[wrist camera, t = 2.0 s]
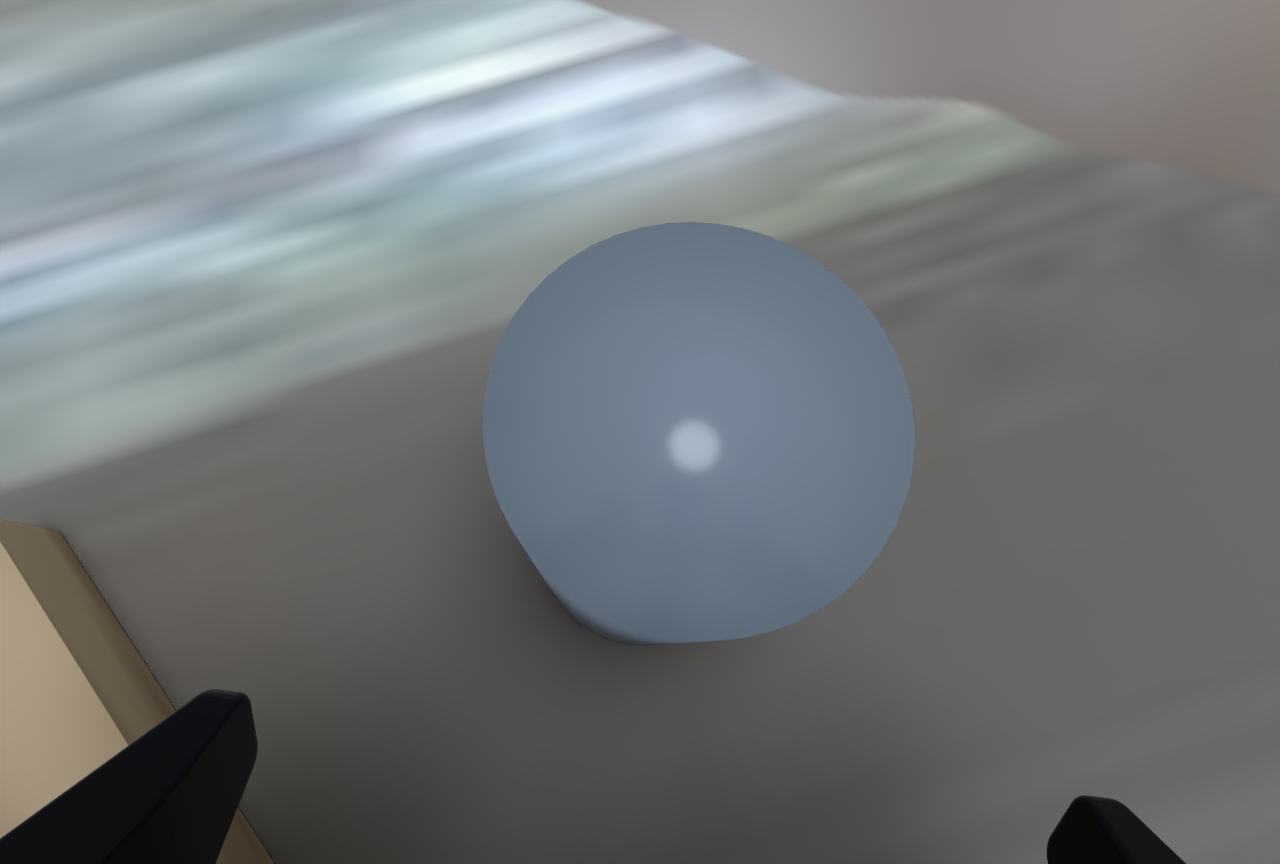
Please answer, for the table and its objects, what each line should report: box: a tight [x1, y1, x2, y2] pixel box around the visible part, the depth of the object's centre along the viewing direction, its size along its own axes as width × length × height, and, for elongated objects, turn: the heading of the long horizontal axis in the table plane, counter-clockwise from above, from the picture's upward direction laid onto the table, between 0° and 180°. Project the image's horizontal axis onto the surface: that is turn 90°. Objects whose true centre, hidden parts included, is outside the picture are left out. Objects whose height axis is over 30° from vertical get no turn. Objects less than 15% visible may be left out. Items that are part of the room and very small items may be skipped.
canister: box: [482, 222, 915, 645], centre depth 15 cm, size 5×5×11 cm
